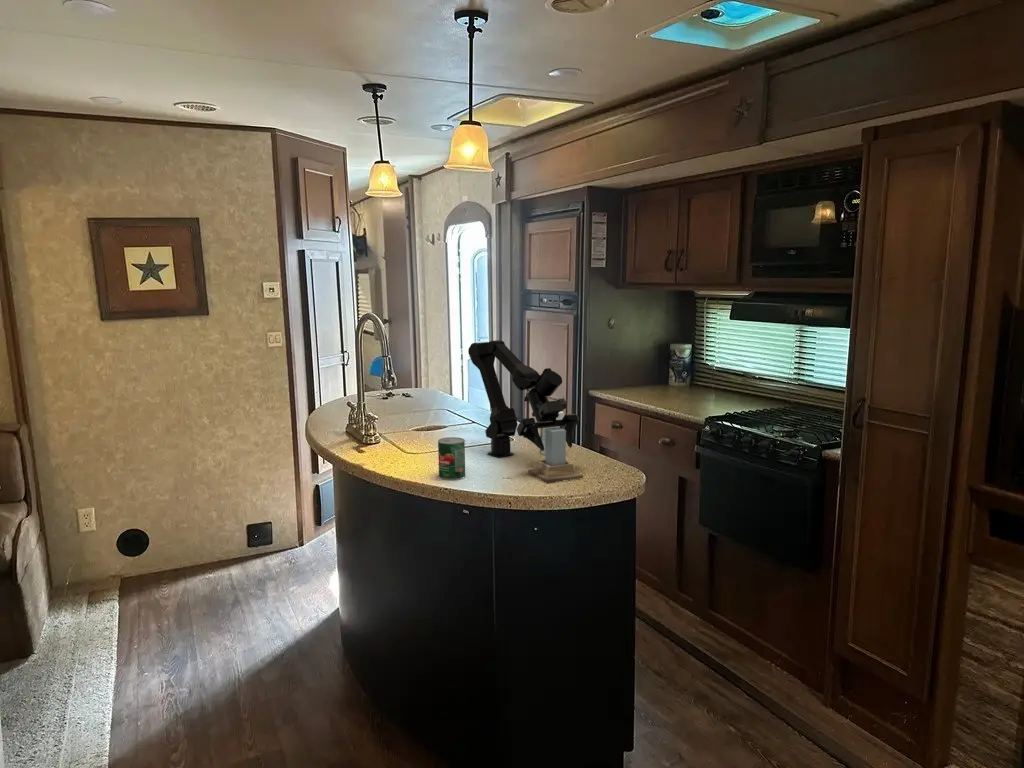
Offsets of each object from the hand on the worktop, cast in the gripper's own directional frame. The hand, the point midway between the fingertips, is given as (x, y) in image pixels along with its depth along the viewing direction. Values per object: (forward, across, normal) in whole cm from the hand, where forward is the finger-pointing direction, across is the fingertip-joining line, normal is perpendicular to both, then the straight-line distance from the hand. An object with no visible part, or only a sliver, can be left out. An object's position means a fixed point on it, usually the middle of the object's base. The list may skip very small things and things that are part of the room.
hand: (557, 448), depth 201 cm
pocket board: (+5, 0, +7) cm, 9 cm away
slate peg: (+4, 0, +6) cm, 8 cm away
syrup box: (-11, +11, +24) cm, 29 cm away
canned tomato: (-3, -28, +16) cm, 32 cm away
